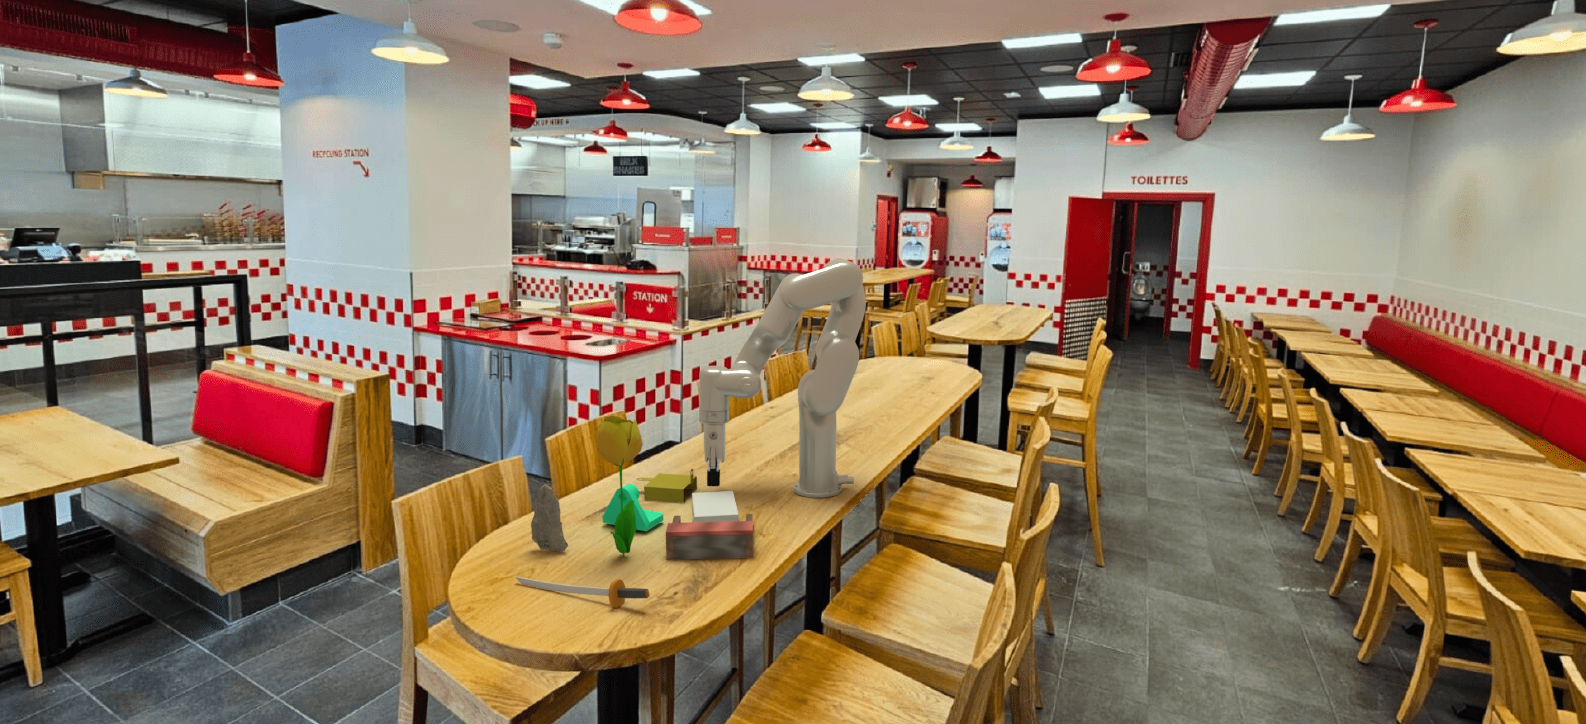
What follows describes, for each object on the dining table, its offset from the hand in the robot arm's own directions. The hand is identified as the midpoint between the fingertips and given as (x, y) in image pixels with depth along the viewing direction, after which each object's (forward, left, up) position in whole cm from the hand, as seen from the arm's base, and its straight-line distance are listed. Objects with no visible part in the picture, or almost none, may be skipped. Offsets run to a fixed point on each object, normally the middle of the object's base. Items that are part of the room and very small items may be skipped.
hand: (713, 485), depth 201 cm
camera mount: (+18, +18, -3) cm, 26 cm away
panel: (-1, +14, -3) cm, 14 cm away
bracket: (+13, -2, -3) cm, 13 cm away
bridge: (-1, +29, -3) cm, 29 cm away
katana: (+23, +53, -3) cm, 58 cm away
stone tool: (+33, +32, -3) cm, 46 cm away
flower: (+17, +36, -3) cm, 40 cm away
